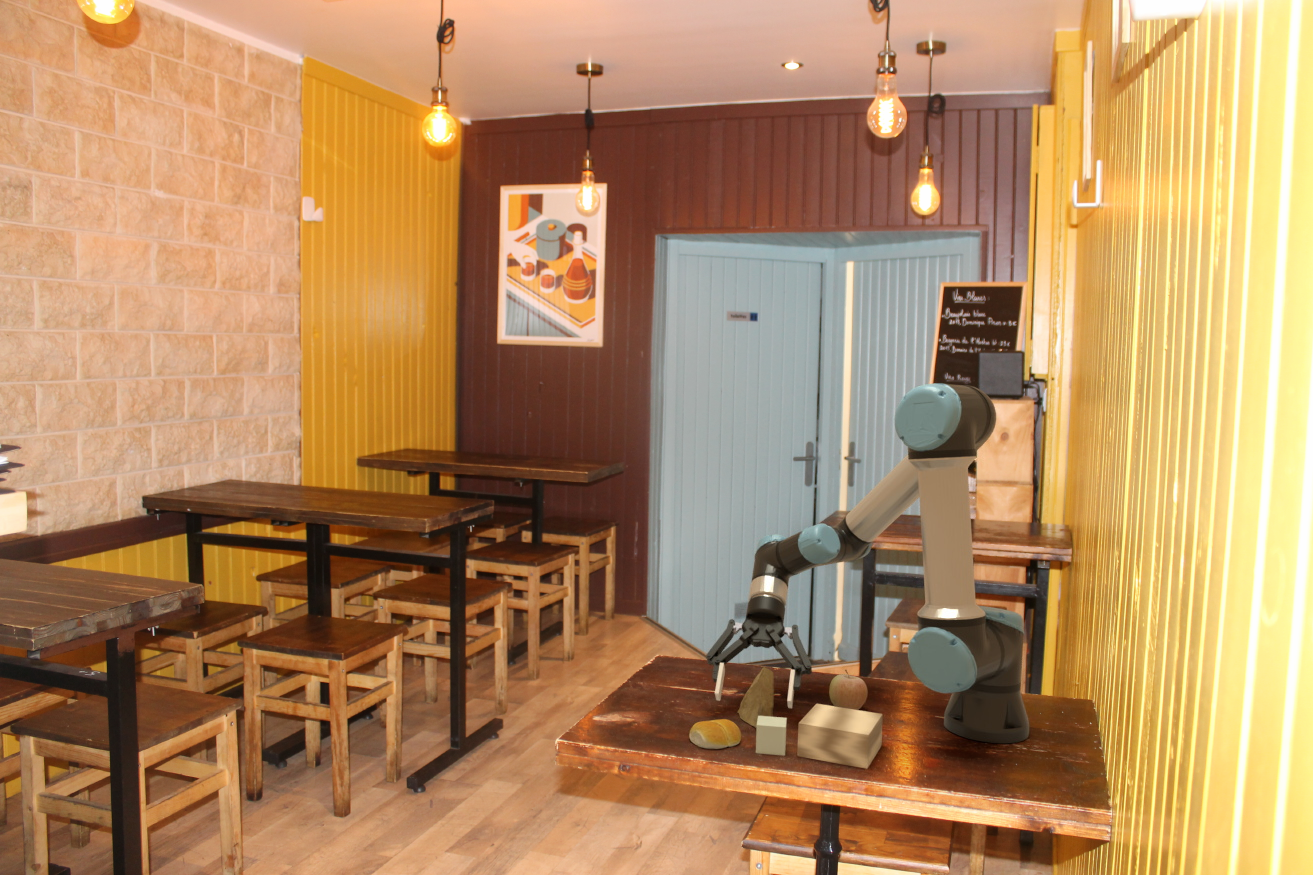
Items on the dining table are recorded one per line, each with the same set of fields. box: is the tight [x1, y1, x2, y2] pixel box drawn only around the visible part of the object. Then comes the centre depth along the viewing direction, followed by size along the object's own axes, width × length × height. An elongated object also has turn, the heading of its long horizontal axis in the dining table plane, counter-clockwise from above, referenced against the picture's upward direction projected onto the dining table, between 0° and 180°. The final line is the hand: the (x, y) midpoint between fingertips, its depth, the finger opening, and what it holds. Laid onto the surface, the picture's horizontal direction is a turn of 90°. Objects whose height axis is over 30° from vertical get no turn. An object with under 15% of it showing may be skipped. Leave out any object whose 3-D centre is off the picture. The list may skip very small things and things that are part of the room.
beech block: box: [796, 703, 884, 770], centre depth 169 cm, size 12×12×6 cm
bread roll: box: [688, 718, 742, 750], centre depth 172 cm, size 8×9×4 cm
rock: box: [736, 666, 775, 730], centre depth 182 cm, size 11×9×10 cm
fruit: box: [828, 668, 869, 710], centre depth 191 cm, size 8×7×8 cm
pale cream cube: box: [755, 716, 788, 756], centre depth 169 cm, size 5×5×5 cm
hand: (753, 700), depth 180 cm, fingers open, 13 cm apart
